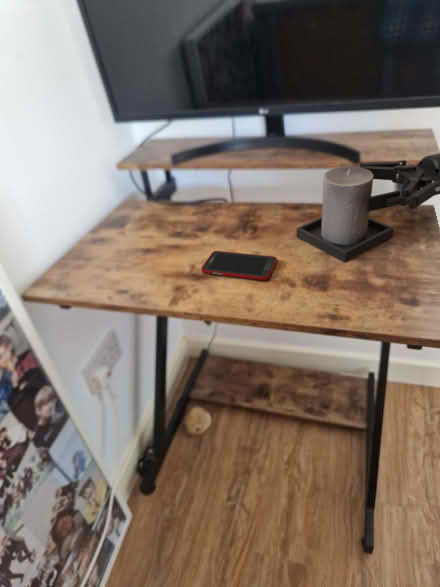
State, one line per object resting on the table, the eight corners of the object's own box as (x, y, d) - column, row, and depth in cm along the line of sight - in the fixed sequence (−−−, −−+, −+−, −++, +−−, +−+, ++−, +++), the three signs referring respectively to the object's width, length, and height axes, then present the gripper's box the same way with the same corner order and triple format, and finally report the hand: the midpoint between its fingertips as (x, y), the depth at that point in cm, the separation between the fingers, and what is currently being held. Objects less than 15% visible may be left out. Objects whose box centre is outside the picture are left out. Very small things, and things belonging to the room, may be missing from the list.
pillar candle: (351, 220, 93) (357, 156, 84) (375, 239, 86) (384, 171, 77) (313, 230, 92) (314, 166, 83) (333, 250, 84) (338, 182, 75)
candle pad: (392, 237, 87) (394, 227, 85) (344, 262, 81) (345, 253, 80) (342, 215, 97) (342, 206, 96) (296, 237, 92) (296, 228, 90)
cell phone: (268, 282, 79) (268, 278, 78) (200, 273, 84) (199, 269, 84) (278, 260, 84) (278, 256, 84) (213, 254, 90) (213, 250, 89)
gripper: (482, 211, 78) (381, 235, 75) (405, 169, 97) (323, 186, 95) (493, 173, 73) (386, 197, 71) (410, 137, 93) (324, 155, 90)
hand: (349, 191), depth 83 cm, fingers open, 13 cm apart
